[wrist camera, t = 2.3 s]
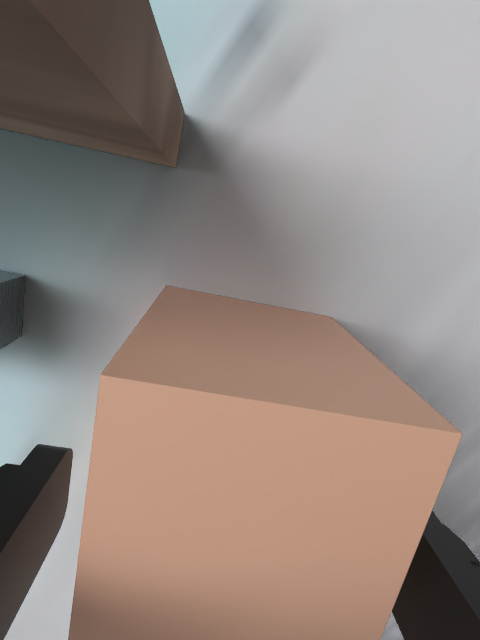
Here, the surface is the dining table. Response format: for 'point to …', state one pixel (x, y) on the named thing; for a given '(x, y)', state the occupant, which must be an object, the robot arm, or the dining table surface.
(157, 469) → the cabinet block
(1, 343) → the rail
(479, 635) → the robot arm
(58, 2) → the wall board
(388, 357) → the dining table surface
